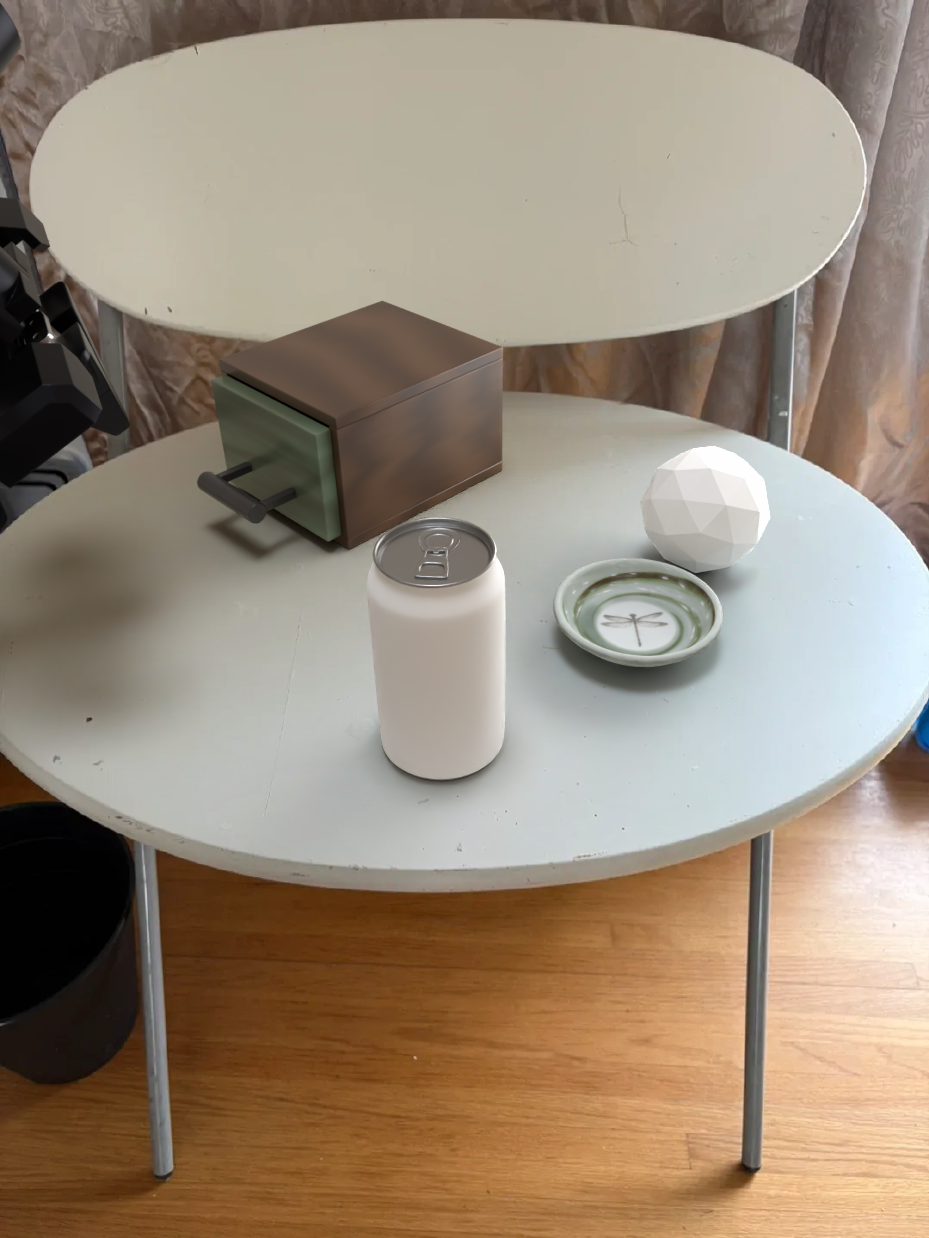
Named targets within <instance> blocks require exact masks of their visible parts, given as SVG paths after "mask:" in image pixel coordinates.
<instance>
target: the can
mask: <svg viewBox="0 0 929 1238" xmlns="http://www.w3.org/2000/svg"><path fill="white" fill-rule="evenodd" d="M372 559H373V561H372V563H371V565H370V568H369V571H368V574H367V578H366V594H367V595H366V597H367V608H368V620H369V630H370V640H371V651H372V661H373V673H374V683H375V692H376V693H375V695H376V703H377V713H378V714H377V715H378V721H379V723H378V724H379V731H380V733H379V734H380V739H381V745H382V748H383V751H384V753H385V755H386V756H387V758H388V759H389V760H390V761H391V762H392V763H393V764H394V765H395V766H397V768H399V769H401V770H403V771H404V772H406V773H408V774H410V775H412V776H414V777H417V778H419V779H424V780H430V781H452V780H458V779H462V778H465V777H468V776H471V775H473V774H475V773H476V772H479V771H480V770H482V769H483V768H485V767H486V766H487V765H489V764H490V763H491V762H492V761H493V760H494V759H495V758H496V757H497V756H498V754H499V753H500V751H501V749H502V747H503V744H504V740H505V731H506V730H505V726H506V725H505V724H506V576H505V571H504V568H503V566H502V563H501V561H500V560H499V559H498V556H497V545H496V543H495V540H494V538H493V537H492V536H491V534H489V532H487V531H486V530H485V529H483V528H482V527H480V526H479V525H477V524H474V523H472V522H470V521H467V520H463V519H460V518H453V517H445V516H443V517H442V516H434V517H433V516H431V517H423V518H422V517H421V518H416V519H412V520H408V521H404V522H401V523H399V524H397V525H396V526H394V527H392V528H390V529H388V530H386V531H384V532H383V534H382V535H381V536H379V538H378V540H377V541H376V542H375V543H374V547H373V549H372Z"/></svg>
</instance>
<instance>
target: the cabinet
mask: <svg viewBox="0 0 929 1238" xmlns="http://www.w3.org/2000/svg"><path fill="white" fill-rule="evenodd" d="M218 363H219V369H220V375H221V376H223V375H227V376H229V377H231V378H233V379H235V380H237V381H238V382H240V383H242V384H244V385H246V386H248V387H250V385H251V386H253V387H255V388H257V389H259V390H261V391H263V392H265V393H267V394H269V395H270V396H272V397H274V398H276V399H278V400H280V401H282V402H284V403H286V404H288V405H290V406H292V407H294V408H296V409H298V410H300V411H302V412H304V413H305V414H307V415H309V416H311V417H313V418H315V419H317V420H319V421H321V422H323V423H325V424H327V425H329V429H330V432H331V441H332V450H333V459H334V469H335V478H336V487H337V497H338V506H339V515H340V524H341V535H340V536H339V537H337V538H335V539H333V541H335V542H337V544H339V545H341V546H343V547H344V548H346V549H348V550H352V549H353V548H355V547H357V546H359V545H361V544H362V543H365V542H366V541H367V542H368V541H369V540H371V539H372V538H374V537H377V536H379V535H380V534H382V533H385V532H387V531H388V530H390V529H391V528H393V527H395V526H397V525H399V524H402V523H404V522H406V521H407V520H410V519H411V518H413V517H414V516H417V515H419V514H420V513H422V512H424V511H426V510H428V509H430V508H433V507H434V506H436V505H439V504H440V503H442V502H444V501H447V500H448V499H450V498H452V497H453V496H455V495H457V494H459V493H462V492H463V491H465V490H467V489H469V488H471V487H473V486H475V485H477V484H479V483H480V482H482V481H485V480H486V479H488V478H490V477H492V476H494V475H496V474H498V473H500V472H501V471H503V412H504V411H503V408H504V407H503V406H504V405H503V401H504V400H503V399H504V398H503V396H504V395H503V391H504V389H503V387H504V385H503V382H504V381H503V380H504V379H503V378H504V373H503V371H504V348H503V346H501V345H499V344H496V343H493V342H490V341H488V340H485V339H483V338H481V337H478V336H475V335H473V334H470V333H467V332H465V331H462V330H459V329H457V328H454V327H451V326H449V325H446V324H444V323H442V322H439V321H436V320H434V319H431V318H428V317H426V316H424V315H421V314H418V313H415V312H413V311H411V310H408V309H405V308H404V307H401V306H397V305H396V304H393V303H389V302H387V301H384V300H380V301H377V302H374V303H371V304H369V305H366V306H364V307H361V308H358V309H355V310H351V311H349V312H346V313H344V314H341V315H338V316H336V317H333V318H330V319H327V320H323V321H321V322H319V323H316V324H313V325H311V326H307V327H304V328H302V329H299V330H296V331H293V332H291V333H287V334H284V335H283V336H279V337H277V338H275V339H272V340H268V341H266V342H263V343H260V344H257V345H255V346H252V347H249V348H246V349H243V350H241V351H238V352H235V353H232V354H229V355H226V356H224V357H221V358H219V359H218Z"/></svg>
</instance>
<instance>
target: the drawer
mask: <svg viewBox="0 0 929 1238" xmlns="http://www.w3.org/2000/svg"><path fill="white" fill-rule="evenodd" d="M210 382H211V389H212V393H213V398H214V399H213V400H214V404H215V410H216V415H217V422H218V427H219V432H220V437H221V444H222V449H223V454H224V460H225V465H226V469H225V470H223V471H221V472H218V473H214V472H212V471H210V470H209V471H208V470H207V471H206V470H205V471H203V472H202V473H200V475H199V476H198V477H197V481H196V484H197V487H198V489H199V490H200V491H201V492H203V493H204V494H206V495H208V496H209V497H211V498H212V499H214V500H215V501H217V502H219V504H222V505H223V506H225V507H226V508H228V509H229V510H231V511H232V512H234V513H236V514H237V515H239V516H240V517H242V518H243V519H245V520H246V521H248V522H249V523H251V524H253V525H255V524H256V525H257V524H260V523H262V522H263V521H264V520H265V518H266V516H267V515H268V514H267V513H268V512H269V511H271V510H273V509H274V510H276V511H277V512H279V513H280V514H282V515H284V516H285V517H287V518H289V519H290V520H292V521H294V522H295V523H297V524H298V525H299V526H301V527H303V528H305V529H307V531H310V532H311V533H312V534H314V535H316V536H318V537H320V538H321V539H323V540H324V541H326V542H331V541H332V540H333V539H335V538H337V537H339V536H340V535H341V524H340V515H339V506H338V497H337V487H336V478H335V469H334V459H333V450H332V441H331V432H330V429H329V425H327V424H325V423H323V422H321V421H319V420H317V419H315V418H313V417H311V416H309V415H307V414H305V413H304V412H302V411H300V410H298V409H296V408H294V407H292V406H290V405H288V404H286V403H284V402H282V401H280V400H278V399H276V398H274V397H272V396H270V395H269V394H267V393H265V392H263V391H261V390H259V389H257V388H255V387H253V386H251V385H250V387H248V386H246V385H244V384H242V383H240V382H238V381H237V380H235V379H233V378H231V377H229V376H227V375H223V376H218V377H215V378H212V379H211V380H210ZM231 483H232V484H231ZM236 486H237V487H236ZM238 487H239V488H238ZM246 492H247V493H246ZM249 494H250V495H249ZM257 499H258V500H257ZM259 500H260V501H259ZM333 541H334V540H333Z"/></svg>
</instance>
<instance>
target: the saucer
mask: <svg viewBox="0 0 929 1238" xmlns="http://www.w3.org/2000/svg"><path fill="white" fill-rule="evenodd" d="M552 610H553V611H552V612H553V615H554V619H555V621H556V624H557V626H558V627H559V629H560V630H561V631H562V633H563V634H564V635H565V636H566V637H567V638H568V639H569V640H570V641H571V642H573V643H574V644H575V645H577V646H578V647H579V648H581V649H582V650H584V651H586V652H588V653H590V654H592V655H594V656H595V657H598V658H600V659H602V660H604V661H607V662H610V663H613V664H617V665H622V666H627V667H637V668H652V667H653V668H655V667H661V666H667V665H671V664H675V663H679V662H683V661H685V660H689V659H691V658H693V657H695V656H698V655H699V654H701V653H702V652H704V651H705V650H706V649H708V648H709V647H710V646H711V645H712V644H713V643H714V641H716V639H717V638H718V636H719V634H720V632H721V629H722V627H723V623H724V611H723V606H722V603H721V601H720V599H719V597H718V596H717V594H716V593H715V591H714V590H713V589H712V588H711V587H710V586H709V585H708V584H707V583H706V582H705V581H704V580H702V579H701V578H700V577H698V576H696V575H695V574H693V572H690V571H689V570H687V569H684V568H682V567H680V566H677V565H673V564H670V563H666V562H664V561H663V562H662V561H659V560H654V559H647V558H640V557H637V558H636V557H618V558H608V559H603V560H599V561H595V562H592V563H590V564H587V565H584V566H582V567H580V568H577V569H576V570H574V571H572V572H571V573H570V574H569V575H567V576H566V577H565V578H564V579H563V580H562V582H560V584H559V585H558V587H557V588H556V591H555V592H554V596H553V602H552Z"/></svg>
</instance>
